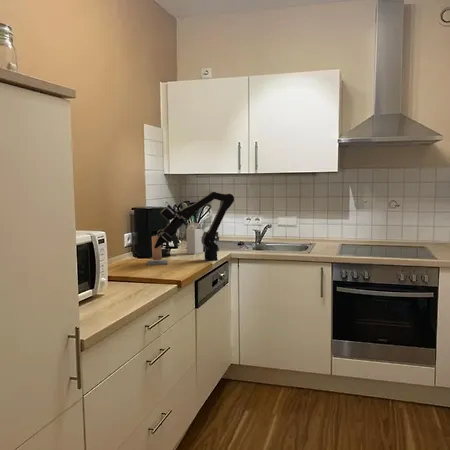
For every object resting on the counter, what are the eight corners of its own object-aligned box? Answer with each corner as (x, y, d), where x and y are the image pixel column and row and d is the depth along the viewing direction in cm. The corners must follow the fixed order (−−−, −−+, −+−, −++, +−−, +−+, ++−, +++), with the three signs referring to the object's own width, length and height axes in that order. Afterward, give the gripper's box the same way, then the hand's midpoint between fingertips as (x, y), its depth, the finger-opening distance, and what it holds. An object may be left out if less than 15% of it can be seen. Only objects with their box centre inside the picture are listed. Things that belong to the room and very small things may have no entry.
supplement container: (209, 249, 308) (209, 231, 307) (222, 250, 302) (222, 231, 301) (199, 251, 299) (199, 232, 298) (213, 252, 293) (212, 233, 292)
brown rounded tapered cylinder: (163, 258, 255) (162, 236, 254) (158, 260, 251) (157, 237, 250) (155, 258, 257) (154, 235, 256) (150, 259, 253) (149, 236, 252)
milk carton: (194, 252, 294) (193, 222, 293) (203, 253, 290) (202, 222, 288) (186, 253, 289) (185, 223, 287) (195, 254, 284) (194, 223, 283)
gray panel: (167, 261, 260) (167, 259, 260) (167, 264, 249) (167, 263, 249) (147, 262, 259) (147, 260, 259) (146, 265, 248) (146, 263, 248)
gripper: (187, 237, 248) (167, 259, 246) (181, 234, 266) (162, 254, 264) (172, 223, 245) (152, 245, 243) (167, 221, 263) (148, 241, 261)
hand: (154, 247), depth 253 cm, fingers closed on brown rounded tapered cylinder, 5 cm apart
